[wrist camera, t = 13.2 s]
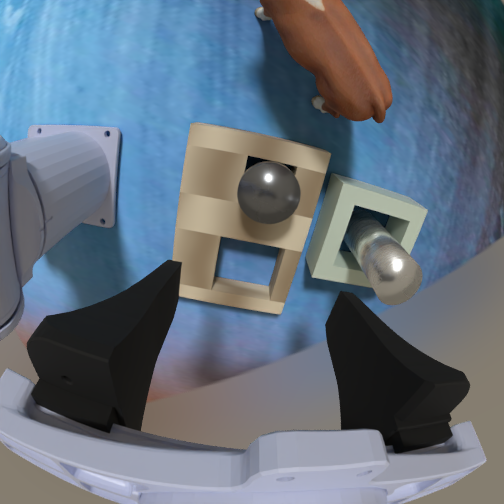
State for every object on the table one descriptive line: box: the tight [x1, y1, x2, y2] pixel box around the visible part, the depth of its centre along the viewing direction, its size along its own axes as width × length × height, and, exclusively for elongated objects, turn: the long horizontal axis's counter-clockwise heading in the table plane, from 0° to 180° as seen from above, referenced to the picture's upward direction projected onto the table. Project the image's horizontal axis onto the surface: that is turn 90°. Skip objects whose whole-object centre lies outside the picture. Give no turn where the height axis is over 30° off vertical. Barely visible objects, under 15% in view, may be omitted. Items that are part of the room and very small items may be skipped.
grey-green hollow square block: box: [306, 173, 428, 288], centre depth 20 cm, size 7×7×3 cm
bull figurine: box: [255, 0, 392, 123], centre depth 12 cm, size 4×13×8 cm, turn 25°
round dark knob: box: [237, 161, 301, 224], centre depth 18 cm, size 4×4×4 cm
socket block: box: [173, 122, 331, 314], centre depth 21 cm, size 9×13×2 cm
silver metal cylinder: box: [343, 210, 422, 305], centre depth 18 cm, size 3×3×8 cm
